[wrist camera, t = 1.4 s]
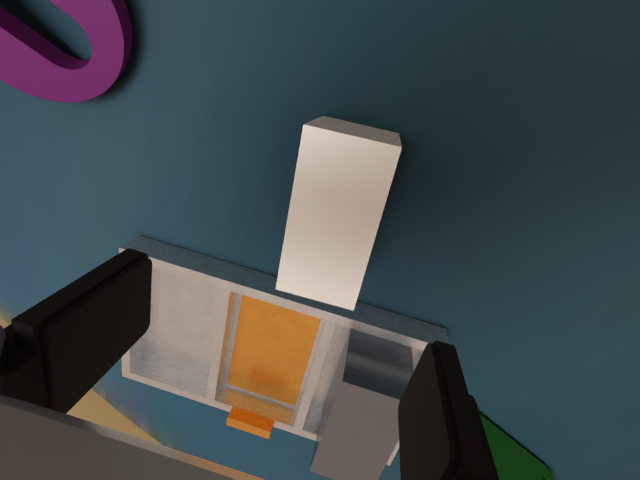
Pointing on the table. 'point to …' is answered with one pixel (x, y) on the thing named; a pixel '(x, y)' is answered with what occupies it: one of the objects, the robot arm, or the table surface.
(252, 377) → the grey compartment tray
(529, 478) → the clamp
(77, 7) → the mounting bracket
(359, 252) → the cream upright block
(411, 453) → the robot arm
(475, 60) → the table surface
